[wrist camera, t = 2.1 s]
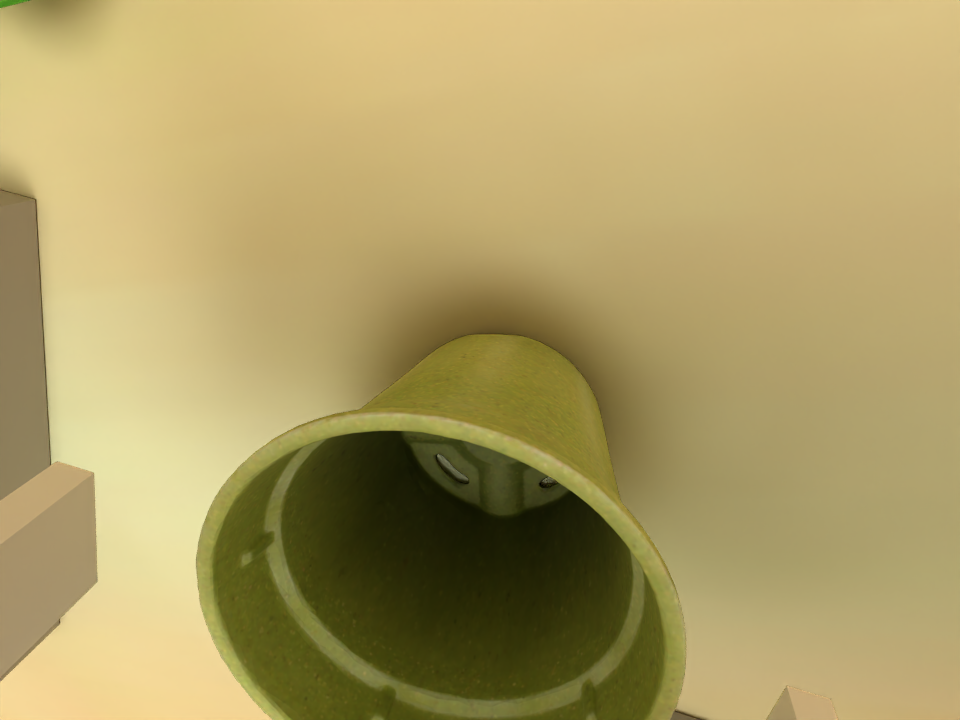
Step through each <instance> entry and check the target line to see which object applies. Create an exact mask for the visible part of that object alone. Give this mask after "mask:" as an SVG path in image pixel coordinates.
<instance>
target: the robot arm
mask: <svg viewBox="0 0 960 720" xmlns="http://www.w3.org/2000/svg"><path fill="white" fill-rule="evenodd" d="M97 582H98V581H97V549H96V518H95V486H94V473H93V472H90V471H87V470H84V469H80V468H77V467H74V466H71V465H67V464H64V463H61V462H55V463H54V464H52V465H51V466H49V467H48V468H47V469H45V470H44V471H42V472H41V473H39V474H38V475H36V476H35V477H34V478H32V479H31V480H29V481H28V482H26V483H25V484H23V485H22V486H21V487H19V488H18V489H16V490H15V491H13V492H12V493H11V494H9V495H8V496H6V497H5V498H3V499H2V500H0V677H1V676H2V675H3V674H4V673H5V672H6V671H7V670H8V669H9V668H10V667H11V666H12V665H13V664H14V663H15V662H16V661H17V660H18V659H19V658H20V657H21V656H22V655H24V654H25V653H26V652H27V651H28V650H29V649H30V648H31V647H32V646H33V645H34V644H35V643H36V642H37V641H38V640H39V639H40V638H41V637H42V636H43V635H44V634H45V633H46V632H47V631H48V630H49V629H50V628H51V627H52V626H53V625H54V624H55V623H56V622H57V621H58V620H59V619H60V618H61V617H62V616H63V615H64V614H65V613H66V612H67V611H68V610H69V609H70V608H71V607H72V606H73V605H74V604H75V603H76V602H77V601H78V600H79V599H80V598H81V597H82V596H83V595H84V594H85V593H86V592H87V591H88V590H90V589H91V588H92V587H93V586H94V585H95V584H96V583H97ZM766 720H838V718H837V715H836V712H835V710H834V707H833V704H832V701H831V699H829V698H826V697H822V696H819V695H816V694H813V693H809V692H806V691H803V690H800V689H796V688H793V687H790V686H786V688H785V689H784V691H783V693H782V694H781V696H780V698H779V699H778V701H777V703H776V704H775V706H774V708H773V709H772V711H771V712H770V714H769V716H768V717H767V719H766Z"/></svg>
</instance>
